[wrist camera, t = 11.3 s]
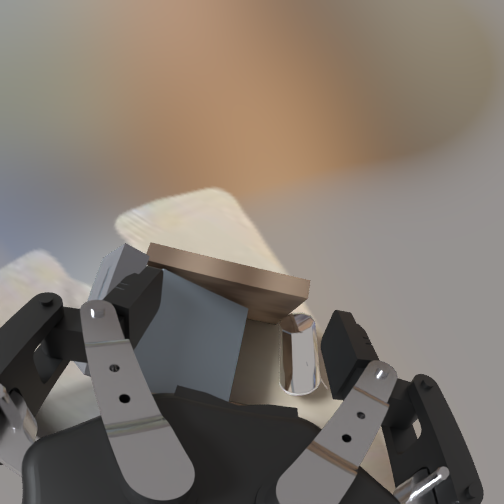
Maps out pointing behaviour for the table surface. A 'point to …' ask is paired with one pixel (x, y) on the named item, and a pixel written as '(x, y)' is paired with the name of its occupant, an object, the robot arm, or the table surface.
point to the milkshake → (298, 355)
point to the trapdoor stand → (235, 282)
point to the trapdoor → (179, 330)
